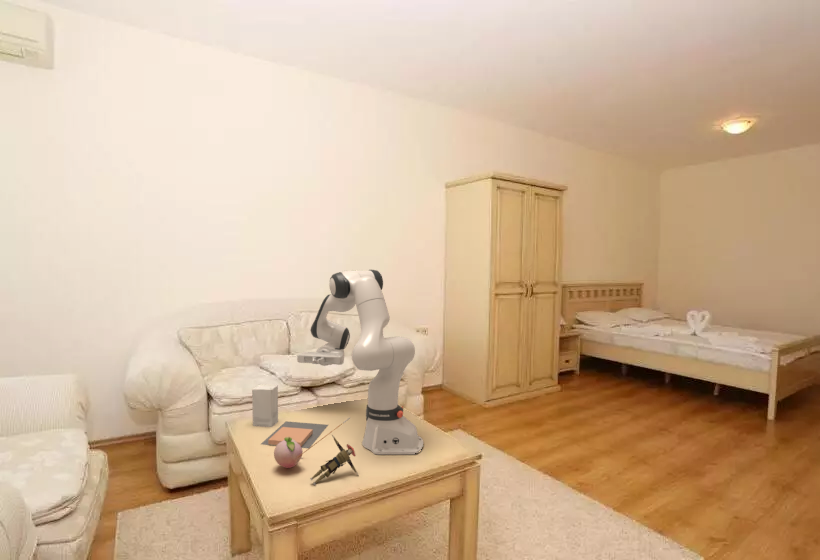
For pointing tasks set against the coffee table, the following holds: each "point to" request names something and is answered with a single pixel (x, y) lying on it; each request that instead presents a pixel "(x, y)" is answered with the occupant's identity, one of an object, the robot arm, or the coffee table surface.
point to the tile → (291, 435)
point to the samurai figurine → (335, 460)
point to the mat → (316, 428)
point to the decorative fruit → (288, 452)
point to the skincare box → (265, 405)
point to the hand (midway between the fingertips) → (315, 362)
